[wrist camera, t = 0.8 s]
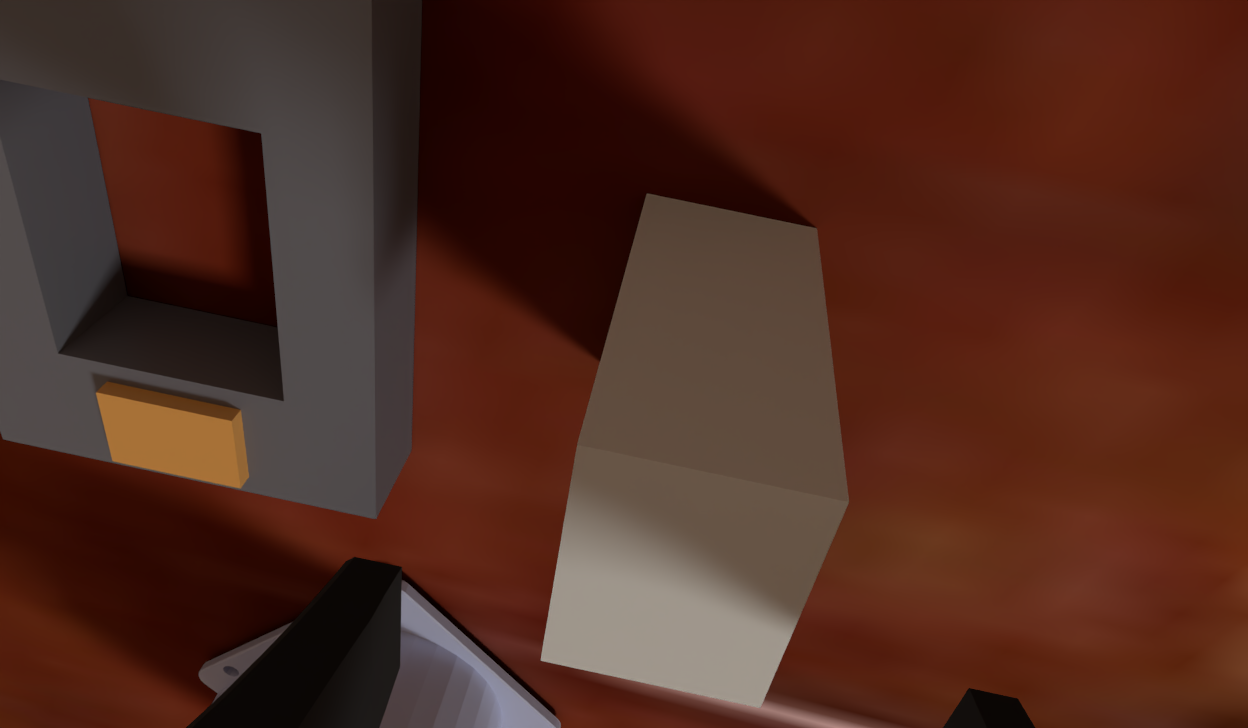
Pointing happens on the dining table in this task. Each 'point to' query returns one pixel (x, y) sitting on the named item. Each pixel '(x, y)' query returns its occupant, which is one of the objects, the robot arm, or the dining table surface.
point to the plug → (702, 459)
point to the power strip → (299, 234)
